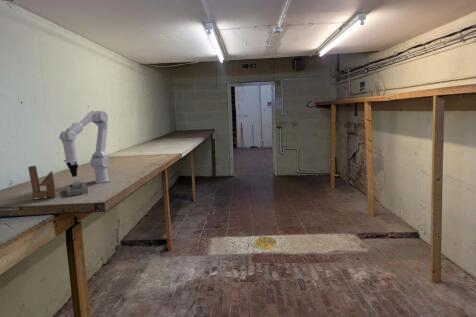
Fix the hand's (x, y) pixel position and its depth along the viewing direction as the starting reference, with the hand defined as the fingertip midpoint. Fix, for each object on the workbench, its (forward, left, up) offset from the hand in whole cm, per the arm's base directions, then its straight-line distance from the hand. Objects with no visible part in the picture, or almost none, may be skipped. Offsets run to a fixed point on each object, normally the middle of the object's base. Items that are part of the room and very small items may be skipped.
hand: (73, 175), depth 192 cm
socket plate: (+3, 0, -9) cm, 10 cm away
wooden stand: (+4, -16, -9) cm, 19 cm away
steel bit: (0, 0, -9) cm, 9 cm away
